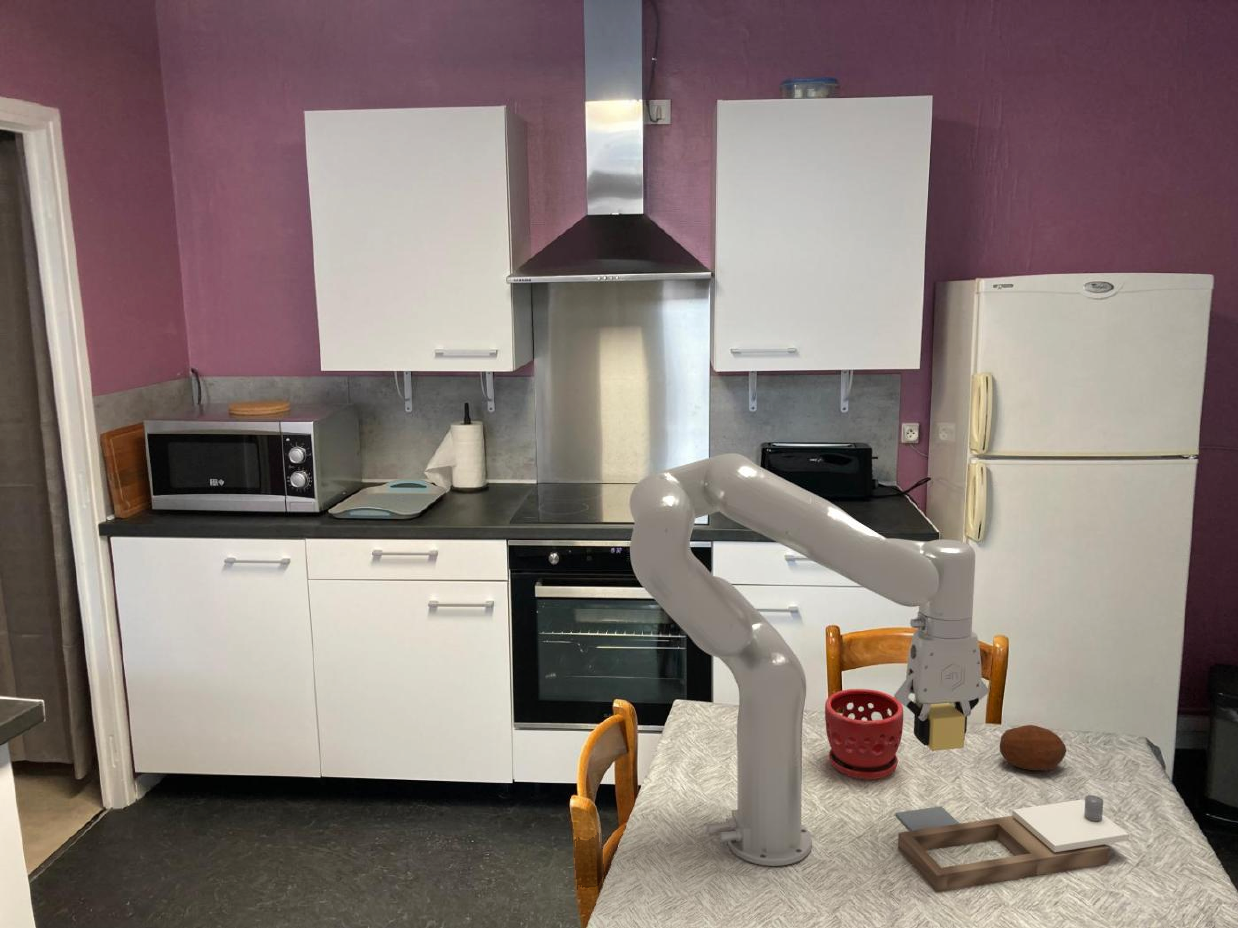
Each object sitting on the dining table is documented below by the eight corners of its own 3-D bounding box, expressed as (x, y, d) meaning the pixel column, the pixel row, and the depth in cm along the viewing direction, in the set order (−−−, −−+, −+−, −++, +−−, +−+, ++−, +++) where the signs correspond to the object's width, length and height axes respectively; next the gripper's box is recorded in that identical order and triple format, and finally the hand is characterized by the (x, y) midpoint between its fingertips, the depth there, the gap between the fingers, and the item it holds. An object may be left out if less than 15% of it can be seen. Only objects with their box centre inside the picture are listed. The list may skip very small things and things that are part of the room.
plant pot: (812, 754, 174) (813, 691, 172) (880, 746, 176) (882, 684, 174) (842, 790, 161) (844, 723, 159) (916, 781, 164) (918, 714, 162)
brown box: (936, 891, 134) (937, 875, 133) (898, 847, 144) (898, 832, 144) (1108, 863, 139) (1109, 847, 139) (1058, 823, 150) (1059, 808, 149)
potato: (991, 754, 172) (993, 715, 171) (1054, 755, 171) (1056, 715, 170) (1006, 778, 164) (1008, 736, 163) (1072, 779, 163) (1075, 737, 162)
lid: (1054, 852, 138) (1056, 826, 137) (1012, 815, 147) (1013, 791, 146) (1128, 840, 140) (1130, 814, 139) (1082, 805, 150) (1083, 781, 149)
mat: (920, 842, 146) (920, 839, 146) (895, 814, 153) (895, 812, 153) (969, 835, 147) (969, 832, 147) (941, 808, 155) (941, 805, 155)
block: (932, 750, 143) (933, 719, 142) (916, 735, 148) (917, 705, 147) (963, 747, 144) (965, 716, 143) (946, 732, 149) (948, 702, 148)
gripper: (902, 637, 138) (897, 756, 141) (1012, 628, 141) (1005, 745, 144) (879, 620, 145) (875, 733, 148) (984, 612, 148) (978, 723, 151)
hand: (939, 738), depth 146 cm, fingers closed on block, 5 cm apart
